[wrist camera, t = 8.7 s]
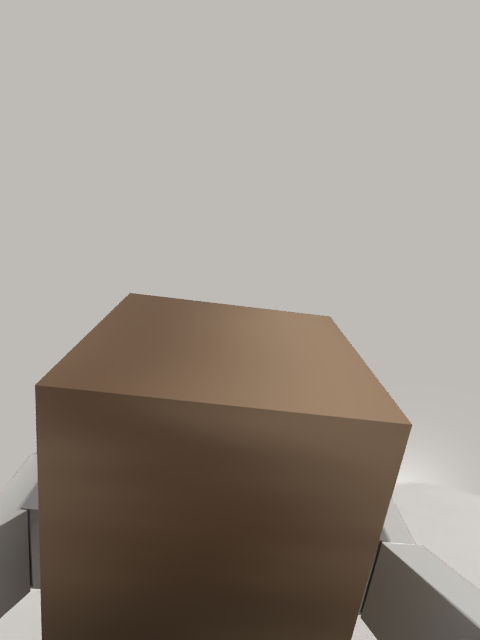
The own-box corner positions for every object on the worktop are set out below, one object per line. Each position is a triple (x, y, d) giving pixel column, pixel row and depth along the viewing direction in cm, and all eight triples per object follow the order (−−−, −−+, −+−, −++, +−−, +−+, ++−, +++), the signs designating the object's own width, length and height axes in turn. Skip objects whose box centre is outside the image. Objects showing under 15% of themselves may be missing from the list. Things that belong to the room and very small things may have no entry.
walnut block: (266, 634, 12) (330, 316, 9) (283, 875, 8) (411, 424, 5) (114, 622, 12) (129, 293, 9) (48, 863, 8) (34, 385, 5)
